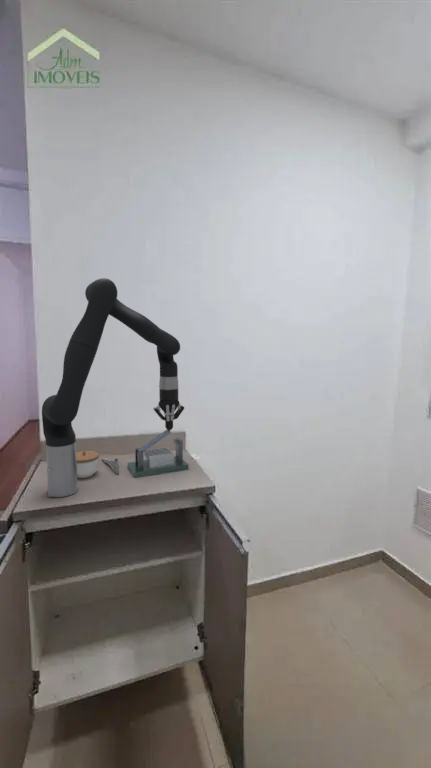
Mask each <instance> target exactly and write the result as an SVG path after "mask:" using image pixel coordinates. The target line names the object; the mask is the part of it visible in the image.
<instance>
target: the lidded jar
mask: <svg viewBox="0 0 431 768" xmlns="http://www.w3.org/2000/svg"><path fill="white" fill-rule="evenodd" d="M99 455H100V454H99V453H98V452H96V451H94V450H93V451H90V450H89V451H87V450H86V451H85V450H82V451H78V452H76V458H77V479H78V478H79V479H86V478H90V477H92V476H94V474H95V472H97V470H98V467H99V462H100V461H99V457H100V456H99Z"/></svg>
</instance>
